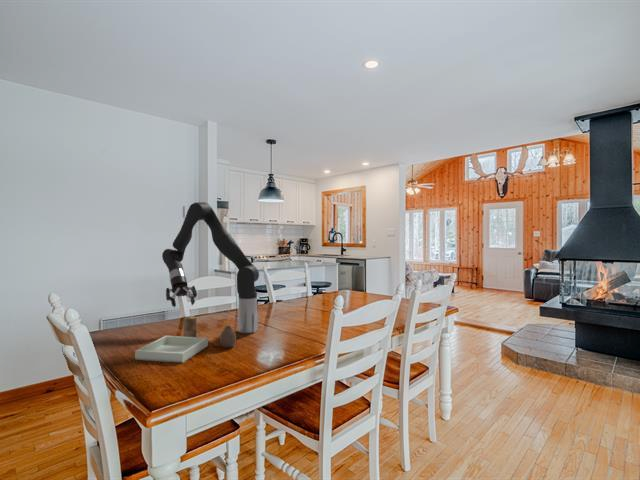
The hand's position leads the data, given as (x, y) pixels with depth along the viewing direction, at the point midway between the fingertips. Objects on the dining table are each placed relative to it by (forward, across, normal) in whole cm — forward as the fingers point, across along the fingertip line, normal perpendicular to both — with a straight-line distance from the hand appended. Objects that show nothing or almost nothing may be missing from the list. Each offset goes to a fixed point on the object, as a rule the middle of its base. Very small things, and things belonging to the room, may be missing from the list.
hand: (184, 305), depth 164 cm
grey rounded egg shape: (+32, +11, -12) cm, 36 cm away
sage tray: (+28, -11, -8) cm, 31 cm away
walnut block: (+17, 0, +3) cm, 18 cm away
